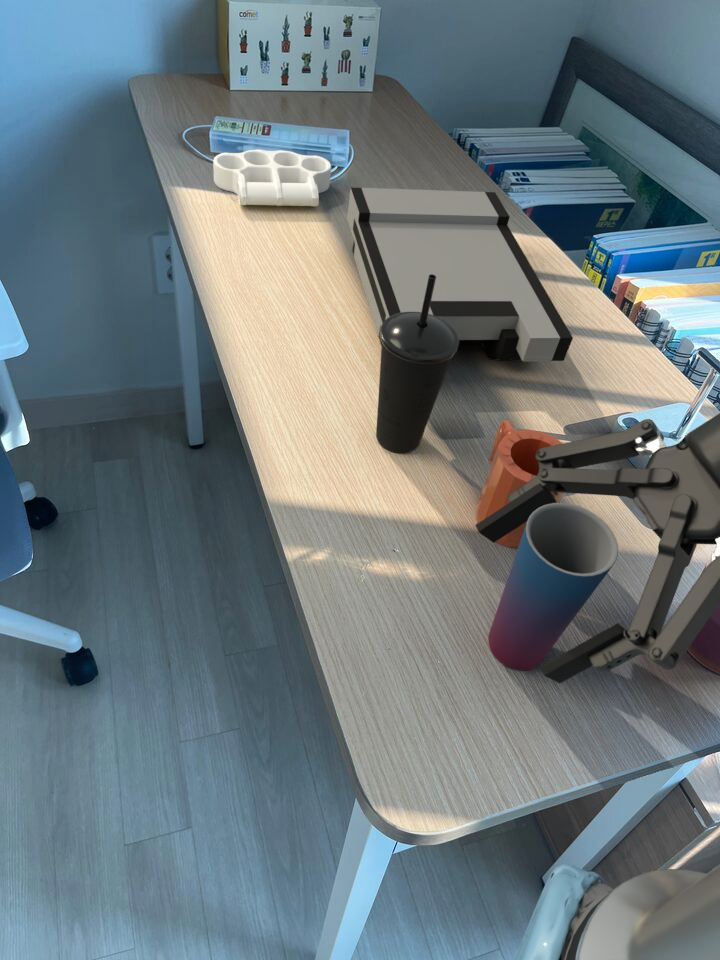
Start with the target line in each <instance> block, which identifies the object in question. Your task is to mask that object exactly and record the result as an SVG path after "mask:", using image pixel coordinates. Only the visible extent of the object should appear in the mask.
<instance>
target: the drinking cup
mask: <svg viewBox="0 0 720 960" xmlns="http://www.w3.org/2000/svg"><path fill="white" fill-rule="evenodd" d="M435 281H436V276H435V275H433V274H431V275H429V277H428V282H427V287H426V292H425V296H424V301H423V306H422V311H421V312H401V313H397V314H394V315H392V316H390V317H388V318H387V319H386V320H385V321H384V322H383V324H382V325H381V328H380V339H381V341H382V346H381V351H380V366H379V380H378V381H379V383H378V401H377V413H376V415H377V417H376V430H375V432H376V433H375V436H376V441H377V442H378V443H379V445H380V446H381V447H382V448H384V449H385V450H387V451H388V452H392V453H395V454H408V453H411V452H413V451H415V450H416V449H417V448H418V447H419V446H420V443H421V441H422V438H423V436H424V433H425V430H426V428H427V426H428V422H429V419H430V417H431V414H432V411H433V408H434V406H435V404H436V401H437V399H438V395H439V393H440V390H441V386H442V385H443V382H444V379H445V376H446V375H447V371H448V368H449V366H450V363H451V361H452V358H453V357H454V355H455V354H456V353H457V352H458V349H459V346H460V340H459V337H458V334H457V332H456V331H455V329H454V328H453V327H452V326H451V325H450V324H449V323H447V322H446V321H444V320H443V319H441V318H439V317H436V316H434V315H431V314H428V313H429V308H430V303H431V299H432V294H433V290H434V285H435Z"/></svg>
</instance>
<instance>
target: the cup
mask: <svg viewBox="0 0 720 960" xmlns="http://www.w3.org/2000/svg"><path fill="white" fill-rule="evenodd" d="M618 555H619V545H618V541H617V537H616V536H615V534H614V532H613V530H612V529H611V527H610V526H609V525H608V524H607V523H606V522H605V521H604V520H603V519H602V518H601V517H599V516H598V515H597V514H595V513H593V512H592V511H590V510H589V509H587V508H585V507H581V506H579V505H576V504H573V503H565V502H560V503H551V504H547V505H544V506H541V507H539V508H538V509H536V510H535V511H534V512H533V513H532V514H531V515H530V516H529V518H528V521H527V523H526V526H525V529H524V532H523V535H522V538H521V541H520V544H519V547H518V548H517V550H516V552H515V556H514V559H513V562H512V565H511V567H510V571H509V573H508V577H507V579H506V582H505V584H504V585H505V586H504V588H503V592H502V594H501V597H500V600H499V603H498V607H497V608H496V612H495V615H494V618H493V622H492V624H491V626H490V630H489V633H488V638H487V641H488V646H489V649H490V651H491V653H492V655H493V656H494V658H495V659H496V660H497V661H498V662H499V663H500V664H502V665H503V666H505V667H507V668H509V669H513V670H516V671H530V670H532V669H535V668H537V667H538V666H539V665H540V664H541V663H542V661H543V660H544V659H545V658H546V656H547V655H548V654H549V652H550V651H551V650H552V648H553V647H554V646H555V644H556V643H557V642H558V640H559V639H560V638H561V636H562V635H563V633H564V632H565V631H566V629H567V628H568V627H569V625H570V624H571V623H572V622H573V620H574V619H575V617H576V616H577V615H578V614H579V612H580V611H581V609H582V608H583V606H584V605H585V604H586V602H587V601H588V600H589V599H590V597H591V596H592V595H593V594H594V592H595V591H596V589H597V588H598V587H599V585H600V584H601V582H602V581H603V580H604V578H605V577H606V576H607V574H608V573H609V572H610V571H611V569H612V567H613V566H614V565H615V563H616V561H617V558H618Z"/></svg>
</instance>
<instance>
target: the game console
mask: <svg viewBox="0 0 720 960" xmlns="http://www.w3.org/2000/svg"><path fill="white" fill-rule="evenodd" d="M349 190H350V191H349V198H348V205H347V206H348V207H347V216H346V220H347V223H348V226H349V229H350V231H351V235H352V239H353V243H352V249H351V251H352V254H353V258H354V261H355V264H356V265H355V266H356V268H357V271H358V275H359V278H360V282H361V284H362V288H363V291H364V295H365V298H366V301H367V304H368V307H369V310H370V311H369V312H370V314H371V318H372V321H373V323H374V328H375V330H376V334H377V337H378V340H379V343H380V347H382V341H381V339H380V328H381V325H382V324H383V322H384V321H385V320H386V319H387V318H388V317H390V316H392V315H394V314H397V313H401V312H421V311H422V306H423V301H424V296H425V292H426V287H427V282H428V277H429V275H431V274H433V275H435V276H436V281H435V285H434V290H433V294H432V299H431V303H430V308H429V313H428V314H431V315H434V316H436V317H439V318H441V319H443V320H444V321H446V322H447V323H449V324H450V325H451V326H452V327H453V328H454V329H455V331H456V332H457V334H458V337H459V341H480V343H481V345H482V347H483V349H484V351H485V354H486V356H487V358H488V360H489V361H490V360H491V361H493V360H498V362H509V361H511V362H515V361H517V362H518V361H519V362H520V361H522V362H564V361H565V360H566V356H567V354H568V352H569V349H570V346H571V344H572V341H573V339H574V337H573V336H572V333H571V332H570V330H569V328H568V327H567V325H566V323H565V322H564V320H563V318H562V317H561V315H560V313H559V312H558V310H557V308H556V306H555V304H554V303H553V301H552V299H551V297H550V296H549V294H548V292H547V291H546V289H545V287H544V286H543V284H542V282H541V280H540V279H539V277H538V275H537V273H536V272H535V270H534V268H533V267H532V265H531V263H530V261H529V259H528V258H527V256H526V255H525V253H524V251H523V249H522V248H521V246H520V244H519V242H518V241H517V239H516V238H515V236H514V234H513V233H512V231H511V229H510V227H509V220H510V214H509V213H508V212H507V210H506V208H505V206H504V205H503V203H502V201H501V199H500V197H499V196H498V195H497V193H496V192H495V191H472V190H471V191H470V190H469V191H465V190H442V189H441V190H436V189H411V188H409V189H408V188H383V187H382V188H381V187H352V186H351V187H350V189H349Z"/></svg>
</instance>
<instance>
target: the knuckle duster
mask: <svg viewBox="0 0 720 960" xmlns="http://www.w3.org/2000/svg"><path fill="white" fill-rule="evenodd" d="M212 162H213V163H212V164H213V165H212V166H213V167H212V168H213V169H212V170H213V183H214V184H215V186H216V187H217V188H219V189H221V190H223V191H226V192H231V193H234V194H236V195H237V200H238V201H237V202H238V204H239V205H240V206H276V207H282V206H283V207H285V206H288V207H289V206H291V207H313V208H314V207H319V200H320V199H319V194H322V193H324V192H326V191H328V190H329V188H330V185H331V176H332V175H331V174H332V164H331V162H330V161H329V160H328V159H326V158H325V157H322V156H319V155H317V154H316V155H306V154H299V153H296V152H294V151H290V150H284V149H279V150H264V149H260V148H259V149H257V148H256V149H249V150H245V151H243V152H222V153H218V154H217V155H216V156H214V158H213V161H212Z"/></svg>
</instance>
